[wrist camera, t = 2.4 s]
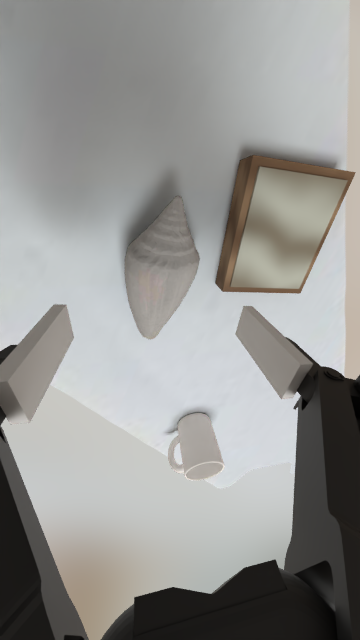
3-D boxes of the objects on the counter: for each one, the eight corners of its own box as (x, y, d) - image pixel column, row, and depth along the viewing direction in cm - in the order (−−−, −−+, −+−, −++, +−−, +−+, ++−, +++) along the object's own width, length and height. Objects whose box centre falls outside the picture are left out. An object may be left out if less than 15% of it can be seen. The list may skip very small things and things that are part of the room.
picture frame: (240, 160, 21) (254, 154, 18) (332, 175, 23) (358, 172, 20) (215, 283, 28) (223, 292, 25) (287, 285, 30) (301, 294, 27)
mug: (174, 440, 50) (180, 490, 42) (157, 427, 46) (160, 480, 37) (214, 422, 48) (230, 469, 40) (201, 407, 44) (215, 457, 35)
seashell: (160, 261, 32) (198, 190, 18) (187, 322, 32) (247, 299, 18) (110, 275, 29) (109, 203, 15) (140, 344, 29) (167, 335, 15)
